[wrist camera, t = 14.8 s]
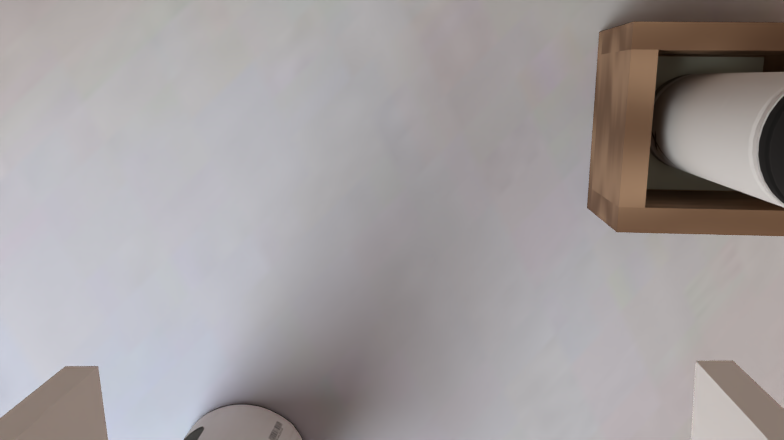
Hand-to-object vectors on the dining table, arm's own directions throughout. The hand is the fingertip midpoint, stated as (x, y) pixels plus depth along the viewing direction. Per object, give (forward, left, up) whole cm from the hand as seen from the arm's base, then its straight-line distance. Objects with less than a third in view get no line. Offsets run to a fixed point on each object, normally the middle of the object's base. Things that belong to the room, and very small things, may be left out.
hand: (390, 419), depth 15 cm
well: (-5, +18, -34) cm, 39 cm away
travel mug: (-5, +18, -33) cm, 38 cm away
